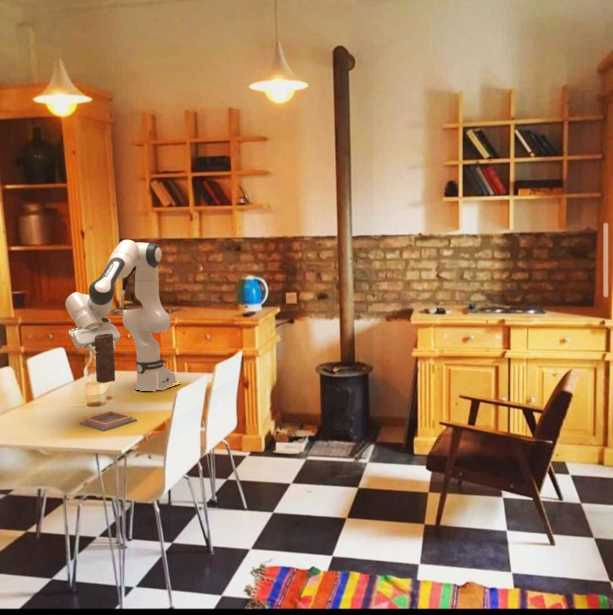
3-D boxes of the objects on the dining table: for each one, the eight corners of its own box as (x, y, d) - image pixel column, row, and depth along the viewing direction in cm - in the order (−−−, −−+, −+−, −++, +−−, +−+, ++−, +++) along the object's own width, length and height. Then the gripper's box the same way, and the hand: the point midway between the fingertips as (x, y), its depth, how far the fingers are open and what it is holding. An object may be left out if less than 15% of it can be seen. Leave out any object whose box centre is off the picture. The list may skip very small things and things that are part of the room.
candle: (111, 385, 277) (109, 336, 274) (93, 384, 277) (91, 336, 274) (117, 380, 284) (115, 332, 281) (100, 380, 285) (98, 332, 282)
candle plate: (113, 414, 294) (112, 409, 294) (136, 421, 284) (136, 415, 284) (80, 424, 282) (80, 418, 281) (104, 431, 272) (103, 425, 271)
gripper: (69, 324, 273) (85, 351, 269) (112, 318, 289) (128, 343, 284) (64, 334, 277) (79, 361, 272) (107, 327, 292) (122, 352, 288)
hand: (105, 352), depth 278 cm, fingers closed on candle, 7 cm apart
